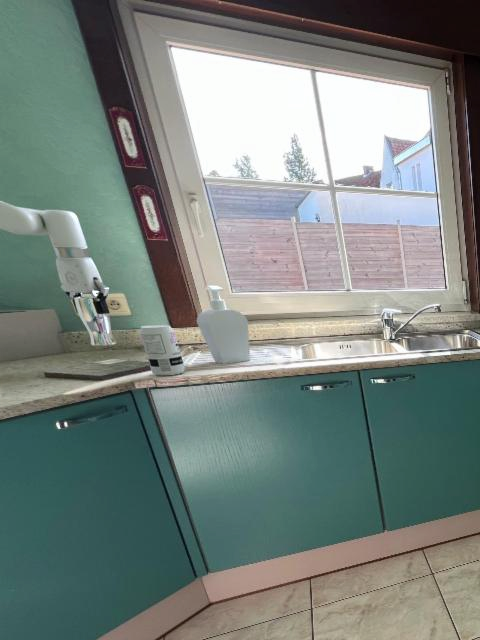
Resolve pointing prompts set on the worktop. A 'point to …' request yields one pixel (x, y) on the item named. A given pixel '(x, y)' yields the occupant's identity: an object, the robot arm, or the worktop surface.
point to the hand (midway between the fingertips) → (93, 312)
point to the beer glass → (95, 322)
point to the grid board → (101, 370)
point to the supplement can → (162, 349)
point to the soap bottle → (224, 330)
